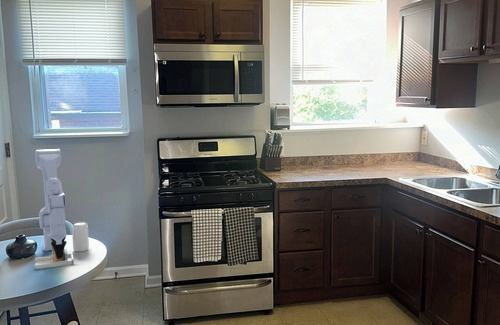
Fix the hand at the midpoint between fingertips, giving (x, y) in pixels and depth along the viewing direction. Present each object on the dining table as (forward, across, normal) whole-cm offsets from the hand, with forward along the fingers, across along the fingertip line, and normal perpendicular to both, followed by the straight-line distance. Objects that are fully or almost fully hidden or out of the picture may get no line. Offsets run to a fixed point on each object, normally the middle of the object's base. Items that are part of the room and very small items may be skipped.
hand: (59, 256), depth 177 cm
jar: (+2, 0, 0) cm, 2 cm away
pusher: (+2, 0, +2) cm, 4 cm away
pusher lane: (+2, 0, -2) cm, 3 cm away
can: (+3, -12, +9) cm, 15 cm away
